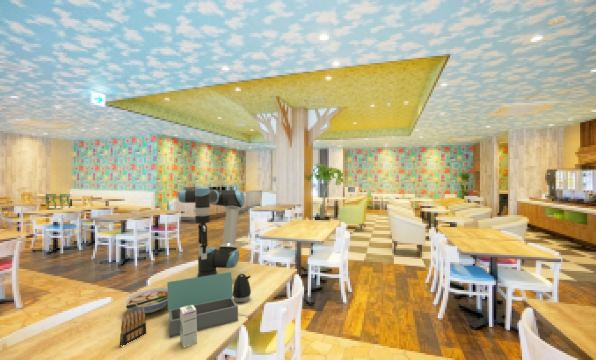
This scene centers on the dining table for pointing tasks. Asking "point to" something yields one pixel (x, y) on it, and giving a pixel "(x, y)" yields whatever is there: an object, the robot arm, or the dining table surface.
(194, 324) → the syrup box
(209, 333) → the dining table surface
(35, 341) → the dining table surface
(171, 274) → the dining table surface
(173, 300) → the cover
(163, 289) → the ramen bowl
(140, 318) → the ammunition clip
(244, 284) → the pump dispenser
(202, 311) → the gray open box
